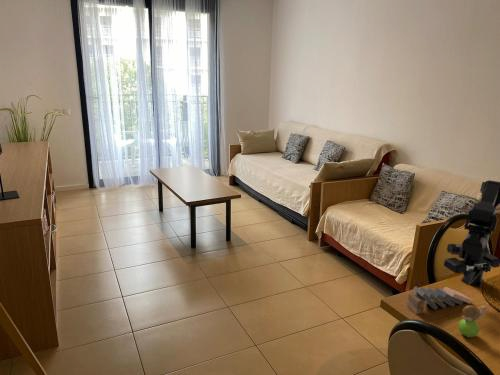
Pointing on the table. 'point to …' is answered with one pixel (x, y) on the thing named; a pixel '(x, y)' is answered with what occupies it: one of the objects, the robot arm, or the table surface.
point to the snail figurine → (471, 320)
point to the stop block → (416, 303)
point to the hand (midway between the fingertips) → (467, 284)
